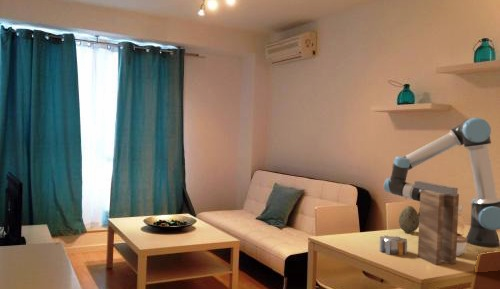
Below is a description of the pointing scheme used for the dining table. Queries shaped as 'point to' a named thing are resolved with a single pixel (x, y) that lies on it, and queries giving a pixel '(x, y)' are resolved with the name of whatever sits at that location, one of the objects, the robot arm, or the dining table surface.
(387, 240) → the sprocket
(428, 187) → the steel bar
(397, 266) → the dining table surface
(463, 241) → the lidded jar
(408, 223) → the decorative egg
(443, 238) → the tall wooden pillar
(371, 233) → the dining table surface
